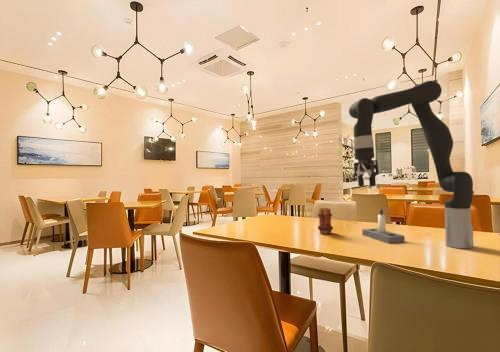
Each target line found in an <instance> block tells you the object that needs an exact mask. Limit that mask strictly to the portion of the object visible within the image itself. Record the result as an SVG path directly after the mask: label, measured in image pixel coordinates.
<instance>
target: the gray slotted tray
mask: <svg viewBox="0 0 500 352" xmlns="http://www.w3.org/2000/svg"><path fill="white" fill-rule="evenodd" d="M361 230H362V231H361V233H362V234H361V235H362V236H365V237H368V238H370V239H374V240H377V241H380V242H383V243H387V244H398V243H405V242H406V241H405V240H406V239H405V235H402V234H401V233H400V234H399V233H395V232H391V231H388V230H386V233H378V227H377V228H366V229H365V228H364V229H361Z"/></svg>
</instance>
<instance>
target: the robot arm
mask: <svg viewBox="0 0 500 352" xmlns="http://www.w3.org/2000/svg"><path fill="white" fill-rule="evenodd" d="M441 95H442V86H441V84H440V83H439V82H438V81H435V80H426V81H423V82H422V83H419V84H415V86H412V87H411V88H407V89H404V90H400V91H399V90H398V91H395V92H391V93H385V94H381V95H377V96H374V97H373V98H365V97H364V98H363V97H362V98H360V99H359V100H357V101H355V102H353V103H352V104H351V105H350V107H349V109H348V114H349V116H350V117H352V118H353V119H355V120H356V119H357V120H356V123H355V124H354V125H353V138H354V139H353V149H354V150H353V151H354V159H355V160H357V162H354V163H353V170H354V172H353V175H354V176H355V177H356V178H357V183H358V184H357V185H358V187H364V186H365V182H364V181H365V180H364V176H365V174H367V175H368V181H369V187H376V185H377V184H376V177H377V176H379V174H380V173H379V162H378V159H374V158H375V146H374V139H373V133H372V132H373V130H372V123H373V119H374V115H375V114H379V113H383V112H384V113H385V112H387V111H391V110H395V109H398V108H400V107H401V108H402V107H404V106H407V105H411V106H412V109H413V111H414V113H415V114H416V117H417V119H418V121H419V124H420V126H421V128H422V132H423V134H424V138H425V141H426V143H427V147H428V149H429V151H430V154H431V157H432V160H433V164H434V166H435V171H436V175H437V180H438V184H439V187H440V188H441V189H442V190H443V191H444V192H448V193H453V194H452V195H453V196H452V197H451V198H450V199H447V200H445V201H444V226H445V227H444V228H445V230H444V231H445V232H444V233H445V246H446V247H449V248H454V249H464V250H465V249H466V250H467V249H472V248H473V247H474V226H473V225H472V210H471V209H472V208H471V205H472V203H473V198H474V196H473V190H474V188H473V187H474V184H473V183H474V179H473V178H472V176H471V174H470V173H469V172H467V171H453V168H452V165H451V161H450V160H451V154H452V151H453V149H454V148H453V147H454V140H453V136H452V133H451V131H450V128H449V126H448V125H447V124H446V123H445V122H444V121H443V120H442V119H440V117H438V116H437V115H436V114H435V112H433V110H432V108H431V107H432V106H431V105H430V103H432V102H435V101H436V100H437V99H439V98H440V96H441Z"/></svg>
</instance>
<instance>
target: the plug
mask: <svg viewBox="0 0 500 352" xmlns="http://www.w3.org/2000/svg"><path fill="white" fill-rule="evenodd" d="M377 229H378V233H386V231H387V228H386V215H385V214H384V210H383V208H380V209H379V214H377Z"/></svg>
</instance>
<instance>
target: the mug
mask: <svg viewBox="0 0 500 352" xmlns="http://www.w3.org/2000/svg"><path fill="white" fill-rule="evenodd" d="M317 216H318V224H319V225H318V226H317V229H318V230H319V233H320V234H322V235H323V234H325V235H327V234H329V235H330V234H332V231H333V229H334V227H333V226H332V219H331V218H332V216H333V214H332V212H331V209H330V208H327V207H321V208H319V209H318V213H317Z"/></svg>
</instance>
